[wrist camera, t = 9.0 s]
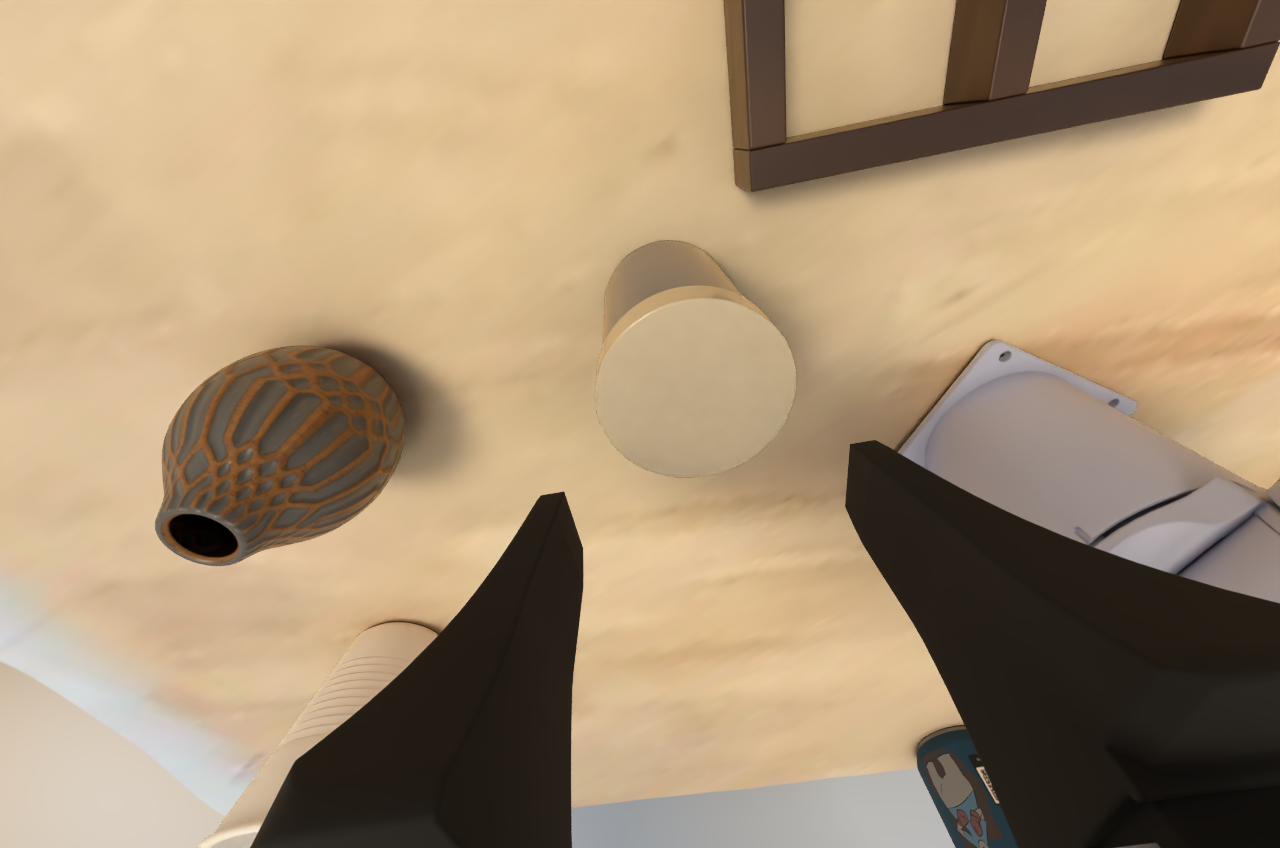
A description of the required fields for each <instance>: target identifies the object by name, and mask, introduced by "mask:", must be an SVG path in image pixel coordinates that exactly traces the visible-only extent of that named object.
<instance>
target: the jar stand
mask: <svg viewBox="0 0 1280 848" xmlns="http://www.w3.org/2000/svg"><path fill="white" fill-rule="evenodd" d="M1046 1H1047V0H957V5H956V12H955V20H954V27H953V35H952V42H951V50H950V57H949V65H948V72H947V79H946V87H945V94H944V102H943V104H944V105H943V106H938V107H933V108H928V109H924V110H919V111H914V112H909V113H904V114H900V115H895V116H890V117H885V118H880V119H875V120H871V121H866V122H861V123H856V124H851V125H847V126H842V127H837V128H832V129H827V130H822V131H818V132H813V133H808V134H803V135H798V136H794V137H789V138H786V80H785V2H784V0H724V13H725V28H726V44H727V59H728V75H729V90H730V106H731V121H732V137H733V147H734V148H736V149H734V150H733V155H734V171H735V184H736V185H737V186H739V187H741V188H744V189H746V190H749V191H751V192H755V191H760V190H765V189H769V188H774V187H779V186H784V185H789V184H794V183H799V182H804V181H809V180H814V179H819V178H824V177H829V176H834V175H839V174H844V173H848V172H853V171H858V170H863V169H868V168H873V167H878V166H883V165H888V164H893V163H898V162H903V161H908V160H913V159H918V158H923V157H927V156H932V155H937V154H942V153H947V152H952V151H957V150H962V149H967V148H972V147H977V146H982V145H987V144H992V143H997V142H1002V141H1006V140H1011V139H1016V138H1021V137H1026V136H1031V135H1036V134H1041V133H1046V132H1051V131H1056V130H1061V129H1066V128H1071V127H1076V126H1081V125H1086V124H1090V123H1095V122H1100V121H1105V120H1110V119H1115V118H1120V117H1125V116H1130V115H1135V114H1140V113H1145V112H1150V111H1155V110H1160V109H1165V108H1169V107H1174V106H1179V105H1184V104H1189V103H1194V102H1199V101H1204V100H1209V99H1214V98H1219V97H1224V96H1229V95H1234V94H1239V93H1244V92H1248V91H1253V90H1258V89H1260V88H1261V87H1262V85H1263V82H1264V80H1265V78H1266V75H1267V73H1268V70H1269V68H1270V66H1271V63H1272V61H1273V59H1274V56H1275V54H1276V52H1277V49H1278V47H1279V44H1280V42H1278V41H1279V40H1280V0H1182V1H1181V4H1180V8H1179V11H1178V14H1177V17H1176V20H1175V23H1174V26H1173V29H1172V32H1171V35H1170V38H1169V41H1168V45H1167V48H1166V51H1165V54H1164V59H1165V60H1160V61H1155V62H1150V63H1145V64H1140V65H1136V66H1131V67H1126V68H1121V69H1116V70H1112V71H1107V72H1102V73H1097V74H1092V75H1087V76H1083V77H1078V78H1073V79H1068V80H1063V81H1059V82H1054V83H1049V84H1044V85H1039V86H1034V87H1030V88H1028V87H1029V82H1030V78H1031V73H1032V68H1033V63H1034V59H1035V54H1036V49H1037V44H1038V40H1039V35H1040V30H1041V25H1042V20H1043V16H1044V11H1045V6H1046ZM1276 41H1277V42H1276Z"/></svg>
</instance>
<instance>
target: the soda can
mask: <svg viewBox="0 0 1280 848" xmlns="http://www.w3.org/2000/svg"><path fill="white" fill-rule="evenodd" d="M917 766H918V770H919V772H920V775H921V777H922V778H923V781H924V783H925V785H926V787H927V789H928V791H929V793H930V795H931V797H932V799H933V802H934V804H935V806H936V808H937V810H938V812H939V814H940V816H941V818H942V820H943V822H944V824H945V826H946V828H947V830H948V833H949V835H950V837H951V838H952V841H953V843H954V845H955V847H956V848H1018V847H1017V844H1016V842H1015V839H1014V837H1013V834H1012V832H1011V830H1010V827H1009V825H1008V822H1007V820H1006V818H1005V815H1004V813H1003V811H1002V808H1001V806H1000V803H999V801H998V799H997V796H996V794H995V792H994V789H993V787H992V784H991V782H990V780H989V777H988V775H987V773H986V771H985V769H984V766H983V764H982V762H981V760H980V758H979V755H978V753H977V751H976V749H975V746H974V744H973V742H972V740H971V738H970V735H969V733H968V731H967V729H966V727H965V726H957V727H950V728H946V729H943V730H940V731H937V732H935V733H933V734H931V735H929V736H927V737H926V738H924V739H923V740H922V741H921V742H920V743H919V745H918V751H917Z"/></svg>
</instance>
